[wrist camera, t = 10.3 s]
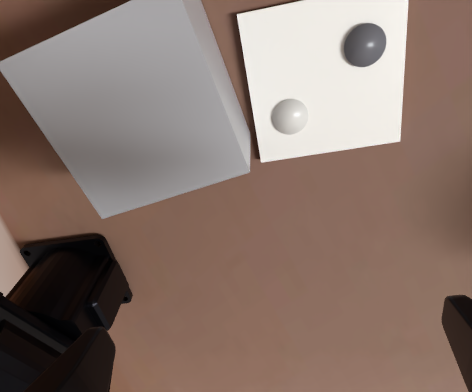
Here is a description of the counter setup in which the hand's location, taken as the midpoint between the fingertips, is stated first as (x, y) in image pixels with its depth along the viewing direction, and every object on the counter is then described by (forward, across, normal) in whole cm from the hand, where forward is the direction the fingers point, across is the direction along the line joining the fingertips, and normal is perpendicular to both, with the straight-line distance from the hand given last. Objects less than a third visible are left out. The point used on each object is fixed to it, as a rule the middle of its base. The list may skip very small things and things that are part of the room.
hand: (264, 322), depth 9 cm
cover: (+13, +5, -4) cm, 14 cm away
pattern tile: (+13, -4, -3) cm, 14 cm away
